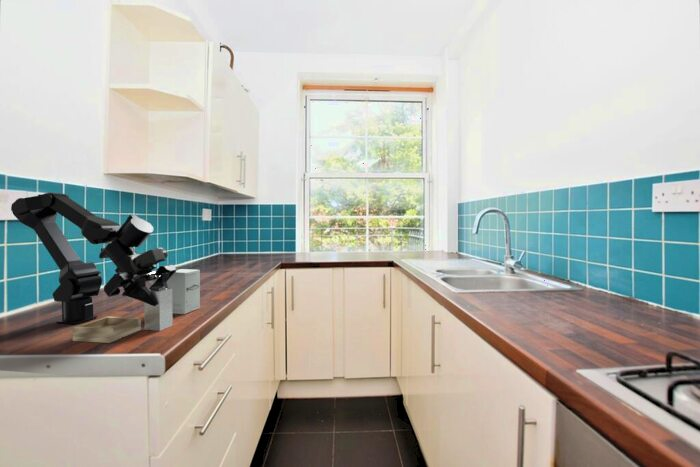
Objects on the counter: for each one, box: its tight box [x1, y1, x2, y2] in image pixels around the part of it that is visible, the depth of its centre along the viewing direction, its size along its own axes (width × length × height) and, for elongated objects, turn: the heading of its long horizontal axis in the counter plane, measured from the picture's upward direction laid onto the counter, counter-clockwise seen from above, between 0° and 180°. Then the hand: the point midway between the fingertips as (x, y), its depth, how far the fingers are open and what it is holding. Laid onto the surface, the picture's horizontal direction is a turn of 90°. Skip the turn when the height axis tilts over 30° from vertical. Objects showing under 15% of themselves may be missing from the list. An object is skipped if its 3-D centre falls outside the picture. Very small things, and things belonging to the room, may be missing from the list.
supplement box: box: [167, 268, 201, 315], centre depth 103 cm, size 7×7×13 cm
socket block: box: [143, 286, 174, 332], centre depth 86 cm, size 4×4×11 cm
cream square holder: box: [72, 315, 142, 344], centre depth 81 cm, size 10×10×3 cm
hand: (163, 302), depth 86 cm, fingers closed on socket block, 4 cm apart
